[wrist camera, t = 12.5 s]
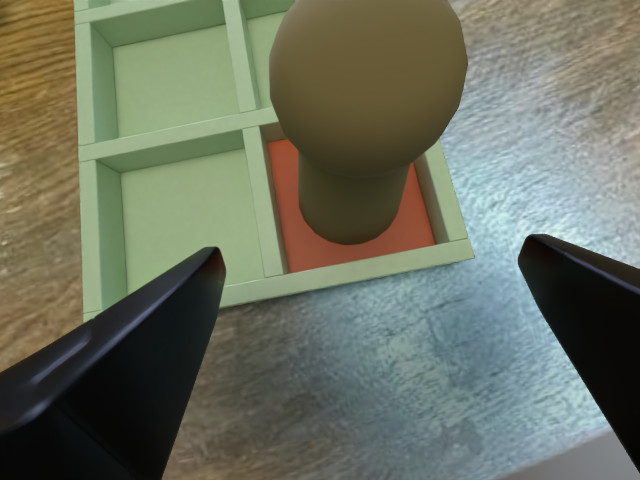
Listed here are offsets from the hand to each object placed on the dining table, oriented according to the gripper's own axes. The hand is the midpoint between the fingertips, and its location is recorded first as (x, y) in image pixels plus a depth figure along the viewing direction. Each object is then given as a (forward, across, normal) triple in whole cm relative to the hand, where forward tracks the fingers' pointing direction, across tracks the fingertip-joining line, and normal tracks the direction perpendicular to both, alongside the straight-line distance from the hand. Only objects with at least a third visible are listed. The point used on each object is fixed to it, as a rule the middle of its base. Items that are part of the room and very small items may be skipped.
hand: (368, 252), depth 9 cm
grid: (+19, +7, -7) cm, 21 cm away
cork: (+9, 0, +2) cm, 9 cm away
